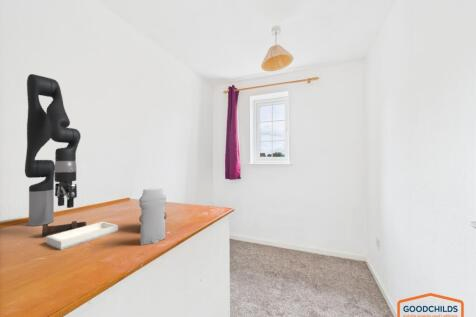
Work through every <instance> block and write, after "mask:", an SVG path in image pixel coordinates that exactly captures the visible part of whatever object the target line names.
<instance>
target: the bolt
mask: <svg viewBox="0 0 476 317" xmlns="http://www.w3.org/2000/svg"><path fill="white" fill-rule="evenodd" d="M84 226H87V221H79V222H78V221H76V220H74V221H73V220H72V221H71V223H67V224H66V223H65V224H59V225H58V224H57V225H49V223H48V224H44V225H42V228H41V237H42V238H46V236H48V235H53V234H57V233H61V232H65V231H68V230H72V229H76V228H80V227H84Z"/></svg>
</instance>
